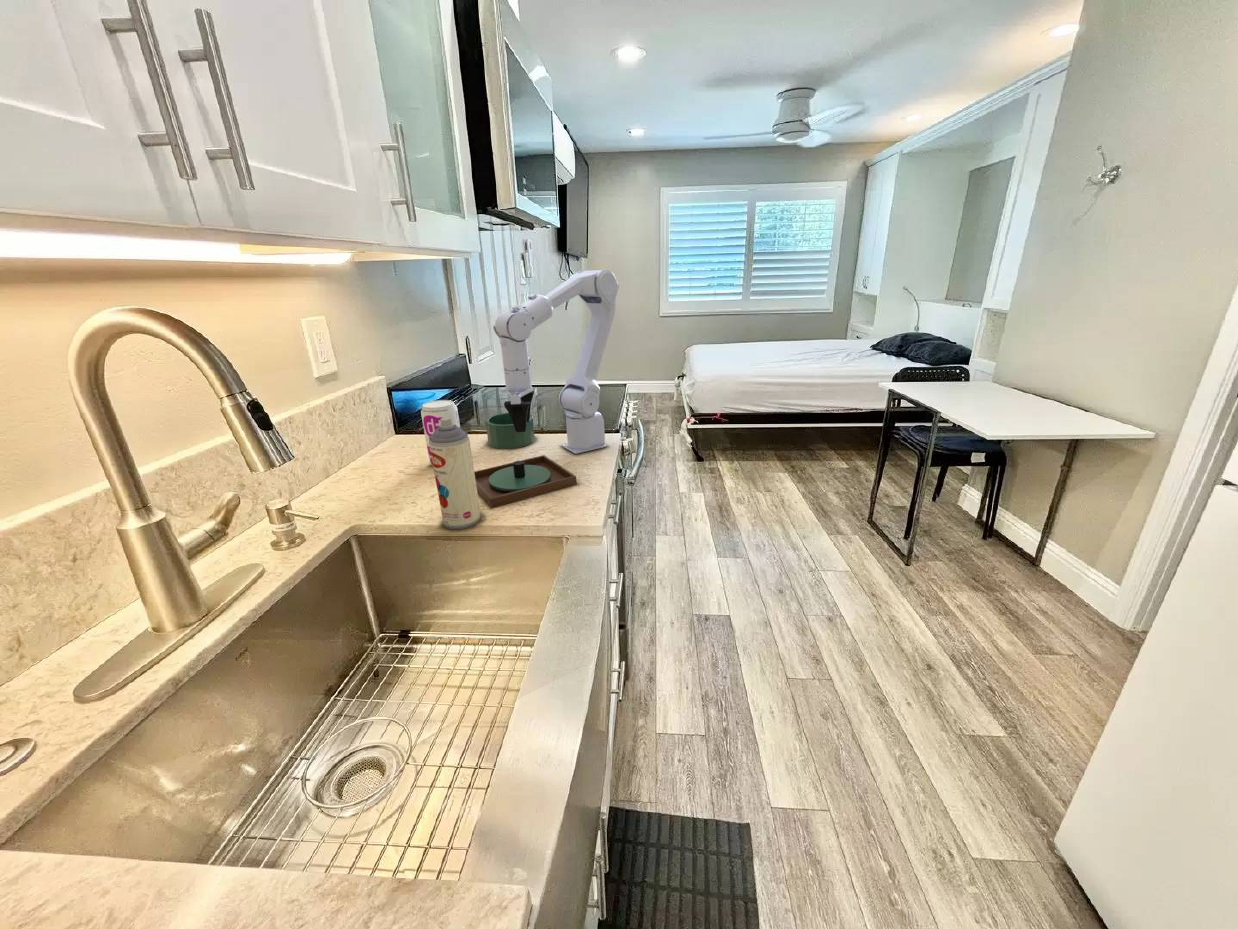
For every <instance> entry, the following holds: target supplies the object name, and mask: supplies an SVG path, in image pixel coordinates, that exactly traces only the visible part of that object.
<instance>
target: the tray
mask: <svg viewBox="0 0 1238 929" xmlns="http://www.w3.org/2000/svg"><path fill="white" fill-rule="evenodd" d="M520 461H524V465H536V466H541V467H544V468H546V469H548V470H549V471H550V473H551V477H550V480H549V481H548V482H547V483H545V484H541V485H537V486H534V487H530V488H526V489H522V490H519V491H502V490H498V489H495V488H493V487H492V486H491V485H490V484H489V477H490V476H491V475H492V474H493V473H495V472H496V471H498V470H501V469H503V468H507V467H511V466H513V462H509V463H504V464H501V465H496V466H492V467H487V468H483V469H479V470H474V473H475V480H476V487H477V493H478V495H479V496H480V497H481V498H482V499H483V500H484V501H485V502H486V503H487V504H488V506H490V508H496V507H499V506H503V505H506V504H511V503H513V502H518V501H521V500H525V499H528V498H533V497H536V496H540V495H543V494H546V493H550V492H553V491H557V490H562V489H564V488H568V487H572V486H575V485H577V483H578V482H577V476H576V475H575V474H573V473H572V472H571V471H569V470H568V469H566V468H565V467H563V466H562V465H560V464H558V463H557V462H555V461H554V460H552V458H549V457H548V456H546V455H545V454H543V455H538V456H535V457H530V458H525V459H522V460H520Z"/></svg>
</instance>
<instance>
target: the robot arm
mask: <svg viewBox="0 0 1238 929" xmlns="http://www.w3.org/2000/svg"><path fill="white" fill-rule="evenodd" d="M619 288H620V285H619V282H618V279H617V277H616V274H615V273H614V272H613V271H612V270H610V269H607V268H606V269H598V270H597V269H596V270H595V269H593V270H591V269H590V270H587V269H581V270H579V271H577V273H573V274H571V275H570V277H569V278H567V279H566V280H564V281H563V282H562V283H561V284H559V285H557V287H555V288H553V289H552V290H551V291H549V292H548V293H547V294H545V295H543V294H539V293H536V294H535V293H532V294H530V295H528V296H527V298H528V299H527V300H526V301H524V302H522V303H521V304H519V305H514V306H512V307H511V309H512V310H511V311H503V312H502V313H500V314H498V316H497V317H496V319H495V323H494V325H493V326H492V327H493V331H494V333H495V335H496V336H497V338H498V339H499V345H500V348H501V350H500V351H501V358H502V366H503V374H504V382H505V383H504V385H505V387H501V388H500V393H506V394H507V395H508V397H509V400H506V401H504V402H503V406H504V408H505V410H506V411H507V413H509V414H510V416H511V419H512V422H513V425H514V428H515V430H516V432H525V431H526V424H527V422H529V419H530V415H531V410H532V409H531V408H532V402H533V398H534V395H535V390H533V386H532V378H531V377H532V376H531V367H530V366H531V365H530V359H529V358H530V357H529V346H528V339H529V337H530V336H531V334H532V331H533V330H534V329H536V328H537V327H538V326H540V325H541V324H543V323H544V322H546V321H548V320H550V318H552V316H553V313H554V309H557V308H558V307H559V306H561V305H563V304H565V303H567V302H568V301H570V300H572V299H573V298H575V297H577V296H578V297H579V298H580V300H582V301H583V303H584V304H585V305H586V306H587V308H588V309H589V311H590V313H591V315H590V319H589V322H588V326H587V330H586V333H585V337H584V340H583V344H582V347H581V350H580V354H579V357H578V362H577V365H576V368H575V372H574V374H573V375H572V376H570V377H569V378H568V379H567V380H566V381H565V385H564V387H563V388H562V389H561V391H560V392H559V395H558V404H559V406H560V408H561V409H563V414H565V424H566V425H565V426H566V440H567V441H566V443H565V442H564V443H561V447H562V448H564V449H566V450H568V451H570V452H571V453H572V454H575V455H577V454H582V453H586V452H590V451H594V450H598V449H603V448H606V447H607V444H606V433H605V420H604V417H603V415H602V413H600V411H598V410H599V408H600V394H601V388H600V386H599V384H598V383H597V377H598V374H599V370H600V367H601V363H602V360H603V356H604V354H605V349H606V346H607V342H608V339H609V335H610V332H611V329H612V325H613V321H614V319H615V315H616V299H617V296H618V292H619Z"/></svg>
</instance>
